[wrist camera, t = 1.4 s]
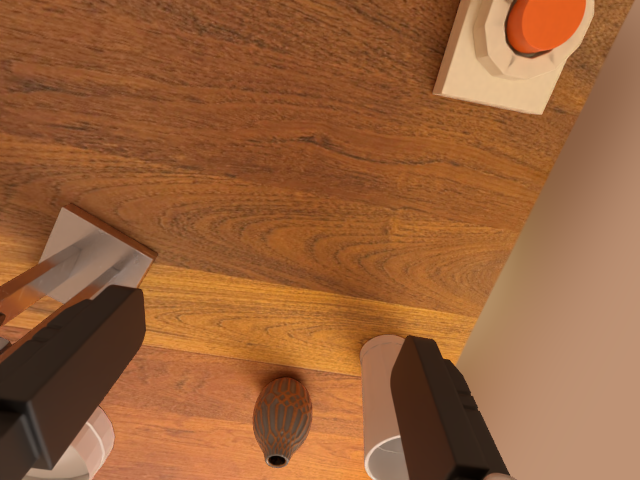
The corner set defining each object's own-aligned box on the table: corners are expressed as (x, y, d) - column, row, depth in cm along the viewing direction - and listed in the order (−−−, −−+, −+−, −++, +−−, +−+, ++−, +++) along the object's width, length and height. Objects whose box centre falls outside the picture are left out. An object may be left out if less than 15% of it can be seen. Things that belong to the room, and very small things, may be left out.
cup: (360, 324, 35) (376, 427, 24) (428, 334, 35) (474, 439, 24) (347, 374, 38) (355, 484, 27) (409, 382, 39) (442, 494, 28)
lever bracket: (71, 202, 29) (-119, 282, 17) (158, 253, 31) (48, 357, 19) (38, 280, 33) (-137, 392, 21) (118, 321, 35) (4, 444, 23)
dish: (95, 484, 50) (72, 523, 45) (-57, 439, 45) (-99, 477, 41) (132, 404, 41) (109, 442, 37) (-49, 340, 37) (-102, 374, 32)
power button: (521, -21, 19) (539, -31, 17) (576, -8, 19) (599, -17, 17) (496, 47, 20) (511, 43, 19) (547, 58, 21) (566, 55, 19)
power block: (481, -69, 21) (514, -104, 17) (591, -42, 21) (647, -70, 17) (431, 93, 25) (449, 93, 21) (524, 113, 25) (558, 116, 22)
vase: (251, 394, 40) (232, 468, 32) (273, 361, 37) (259, 432, 30) (298, 412, 41) (291, 487, 33) (323, 381, 39) (322, 454, 31)
